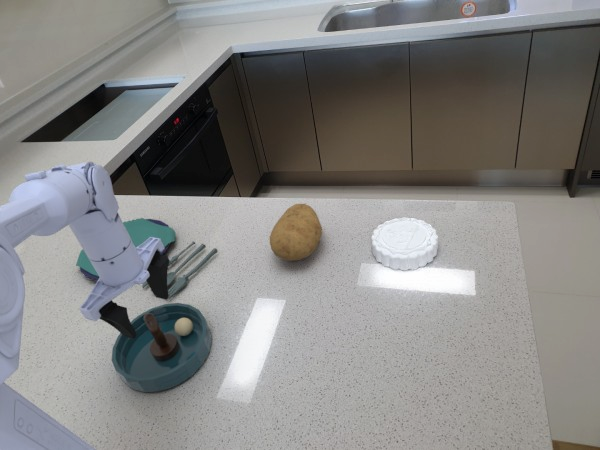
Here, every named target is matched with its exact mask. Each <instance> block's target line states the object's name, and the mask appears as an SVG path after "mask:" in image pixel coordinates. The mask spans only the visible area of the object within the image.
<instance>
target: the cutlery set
mask: <svg viewBox="0 0 600 450" xmlns="http://www.w3.org/2000/svg"><path fill="white" fill-rule="evenodd" d="M122 222H123V224H124V226H125V228H126V230H127V232H128V234H129V236H130V238H131V240H132V242H133V244H134V246H135V248H136V247H138V246H139V245H141V244H142V243H144V242H145V241H146V240H147V239H148V238H150V237H154V238H159V239H161V241H162V243H163V246H164V248H165V249H164V250H163V251H162V252H160V254H162V255H164V254H165V253H166V252H167V250H168V248H169V246H170V244H171V243H176V235H177V234H176V231H175V229H173V227H171V226H169V225H168V224H167V223H165V222H164V221H162V220H160V219H154V218H143V217H140V218H135V219H132V220H127V221H122ZM194 245H196V242H195V241H192V242H190V244H189V245H188V246H187V247H186V248H184V249H182V251H180V252H179V253H178V254H176V255H174V256H172V257H171V259H169V261H170V263H169V266H168V268H169V267H170V266H174V263H175V262H177V261H178V259H179V258H180V257H181V256H182V255H183V254H184V253H185V252H187V250H189V249H190V248H192V247H193V246H194ZM205 248H207V247H206V244H204V243H201V244H200V245H199V246H198V247H197V248H196V249H195V250H194V251H193V252H192V253H191V254H190V255H188V257H187V258H185V260H183V262H182V263H181V264H179V266H178V268H176V270H174V271H170V272H167V287H169V286H170V285H171V284H172V283H173V282H174V281H175V277H176V274H178V272H179V271H180V270H181V269H183V267H185V266H186V265H187V263H189V262H190V261H191V260H192V259H193V258H195V257H196V256H197V255H198V254H199V253H201V252H202V251H203V250H205ZM217 253H218V248H216V247H213V248H212V249H211V251H210V252H209V253H207V254H206V255H205V257H204V258H203V259H202V260H201V261H200V262H199V263H198V264H196V266H195V267H193V268H192V269H191V270H190V271H189V272H187V273H186V274H183V275H182V276H181V277H180V276H179V277H178V278H177V280H176V281H175V282H174V284H173V285H172V286H171V287H170V288H169V289H168V295H169V297H168V299H167V300H169V299H170V298H172V297H173V296H174V295H175V294H176V293H178V291H180V290H181V289H183V288H184V287H185V286H186V285H187V284H188V282H189V280H190V279H189V278H190V277H192V275H194V274H195V273H196V272H198V271H199V270H200V269H201V268H202V267H203V266H205V264H206V263H208V262H209V260H210V259H211V258H212V257H214V256H215V255H216V254H217ZM75 266H76V267H79V270H80V272H81V273H82V274H83V275H84V276H85V277H87V278H89V279H92V280H96V281H98V279H99V275H98V274H97V272H96V270H95V268H94V267H93V265H92V263H91V262H90V260H89V258H88V257H87V255H86V253H85V252H84V250H83V249H81V251H80V252H79V254H78V258H77V261H76V264H75ZM141 285H142V286H141V288H142V289H144V288H146V287H147V286H149V285H148V283H147V281H145V282H144V283H142V284H141ZM150 292H152V290H151V289H150Z"/></svg>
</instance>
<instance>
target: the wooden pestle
mask: <svg viewBox="0 0 600 450" xmlns="http://www.w3.org/2000/svg"><path fill="white" fill-rule="evenodd" d="M144 321H145V323H146V325H147V327H148V329H149V330H150V332H151V334H152V336H153V338H154V341H153V342H152V344H151V346H150V352H151V354H152V355H153V357H154V359H155V360H157V361H167V360H169V359H171V358H173V357H174V356H175V355H176V354H177V352H178V351H179V343H178V341H177V339H176V337H175V336H174V335H172V334H163V332H162V330H161V328H160V326H159V324H158V322H157V320H156V318H155V316H154V315H153V314H152V313H146V314H145V315H144Z"/></svg>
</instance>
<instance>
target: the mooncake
mask: <svg viewBox="0 0 600 450" xmlns="http://www.w3.org/2000/svg"><path fill="white" fill-rule="evenodd" d="M370 241H371V242H370V243H371V250H372V255H373V257H375V260H376V261H377V262H378V263H381V265H382V266H383V267H386V268H390V269H391V270H394V271H395V270H401V271H403V272H404V271H408V270H411V271H414V270H417V269H419V268H423V267H426V266H427V264H429V263H432V262H433V261H434V258H435V257H436V256H438V250H439V235H438V234H437V230H436V229H435V228H434V227H433V226H432V225H431V224H430V223H428V222H426V221H425V220H423V219H418V218H416V217H410V218H409V217H406V216H404V217H400V218H399V217H395V218H392V219H391V220H385V221H384V222H383V223H381V224H378V225H377V226H376V228H374V230H373V231H372V235H371V237H370Z"/></svg>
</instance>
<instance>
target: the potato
mask: <svg viewBox="0 0 600 450" xmlns="http://www.w3.org/2000/svg"><path fill="white" fill-rule="evenodd" d="M322 233H323V227H322V224H321V221H320V219H319V216H318V215H317V212H316V210H314V208H313V207H312V206H310V205H308V204H306V203H295V204H294V205H292V206H290V207H288V208H287V209H286V210H285V211H284V212H283V214H282V215H281V217H279V219H278V220H277V221H276V223H275V224H274V226H273V228H272V230H271V232H270V235H269V245H270V249H271V251H272V252H273V253H274V255H275V256H277V257H278V258H280V260H283V261H289V262H295V261H296V262H297V261H300V260H303V259H306V258H307V257H309V256H310V255H312V254H313V253H314V252H315V251H316V249H317V247H318V245H319V243H320V242H321V238H322Z"/></svg>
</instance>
